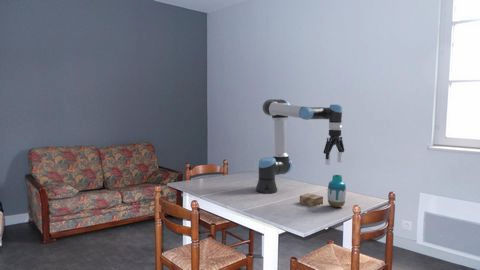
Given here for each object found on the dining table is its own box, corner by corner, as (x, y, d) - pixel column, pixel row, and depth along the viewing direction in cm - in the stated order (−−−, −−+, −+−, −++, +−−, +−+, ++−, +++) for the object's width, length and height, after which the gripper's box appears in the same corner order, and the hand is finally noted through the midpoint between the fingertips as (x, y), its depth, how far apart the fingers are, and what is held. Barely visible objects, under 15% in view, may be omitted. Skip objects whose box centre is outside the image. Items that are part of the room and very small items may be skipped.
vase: (347, 206, 220) (348, 175, 218) (342, 210, 210) (343, 177, 209) (330, 203, 225) (331, 173, 223) (324, 207, 216) (325, 175, 214)
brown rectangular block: (299, 203, 225) (299, 195, 224) (308, 200, 231) (308, 193, 231) (314, 207, 217) (314, 199, 216) (322, 204, 223) (323, 196, 223)
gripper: (329, 130, 212) (327, 166, 213) (350, 129, 229) (349, 162, 231) (318, 129, 217) (317, 164, 219) (340, 128, 234) (338, 160, 236)
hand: (333, 163), depth 225 cm, fingers open, 13 cm apart
